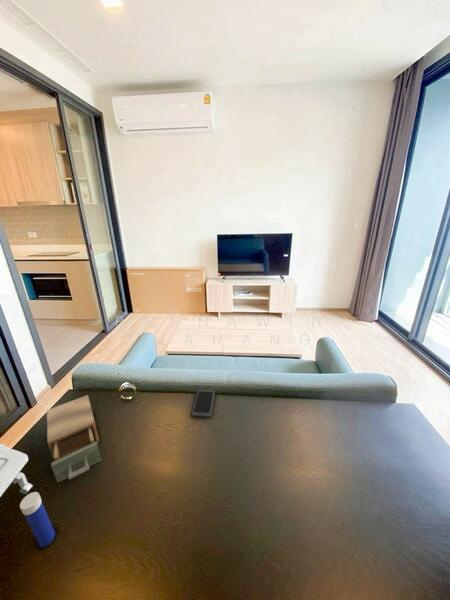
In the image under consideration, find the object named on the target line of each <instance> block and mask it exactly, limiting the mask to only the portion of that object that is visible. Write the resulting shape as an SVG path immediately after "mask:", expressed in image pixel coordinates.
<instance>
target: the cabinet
mask: <svg viewBox="0 0 450 600" xmlns="http://www.w3.org/2000/svg"><path fill="white" fill-rule="evenodd" d="M90 426H91V428H92V432H93V436H94V441H95V442H97V444H99V443H100V438H99V433H98V430H97V425H96V421H95V417H94V412H93V409H92V405H91V402H90V398H89V394H86V395H84V396H81V397H78V398H76V399H73V400H70V401H67V402H65V403H63V404H59V405H57V406H54V407H52V408H49V409H46V432H47V433H46V434H47V435H46V437H47V438H46V439H47V446H48V448H49V452H50V454H51V457H52V459H53V462H54V461H55V459H54V442H56V441H58V440H61V439H63V438H65V437H68V436H70V435H72V434H74V433H77V432H79V431H81V430H83V429H86V428H88V427H90Z"/></svg>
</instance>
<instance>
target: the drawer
mask: <svg viewBox="0 0 450 600" xmlns="http://www.w3.org/2000/svg"><path fill="white" fill-rule="evenodd" d="M54 459H55V461H54ZM54 459H53V461H52V462H51V463H50V464H51V465H50V466H51V469H52V472H53V474H54V477H55V480H56V482H57V484H59V483H60V482H63V481H64V480H66V479H68V481H71V480H73V479H74V478H77V477H78V476H80V475H82V474H83V473H86V472H88V471H90V467H92V466H93V465H95V464H97V463H99V462H101V461H102V456H101V453H100V449H99V445H98V443H97V442H95V441H94V436H93V432H92V428H91V426H90V427H88V428H86V429H83V430H81V431H79V432H77V433H74V434H72V435H70V436H68V437H65V438H63V439H61V440H58V441H56V442H54Z"/></svg>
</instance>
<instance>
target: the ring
mask: <svg viewBox="0 0 450 600" xmlns="http://www.w3.org/2000/svg"><path fill="white" fill-rule="evenodd" d="M126 389H131V390H133V392H134V393H133V395H131V396H128V397H124V396H123V395H122V394H121V392H122V391H124V390H126ZM136 395H137V387H136V386H135V385H134V384H132V383H130V382H124V383H123V384H121V385H120V386H119V388H118V390H117V397H118V398H119V399H120V400H123V401H131V400H133V399H134V398H135V397H136Z"/></svg>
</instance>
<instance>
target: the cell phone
mask: <svg viewBox="0 0 450 600" xmlns="http://www.w3.org/2000/svg"><path fill="white" fill-rule="evenodd" d="M215 394H216V391H215V390H213V389H198V390H197V392H196V396H195V400H194V403H193V407H192V409H191V417H194V418H210V417H211V416H212V412H213V406H214V400H215Z"/></svg>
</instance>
